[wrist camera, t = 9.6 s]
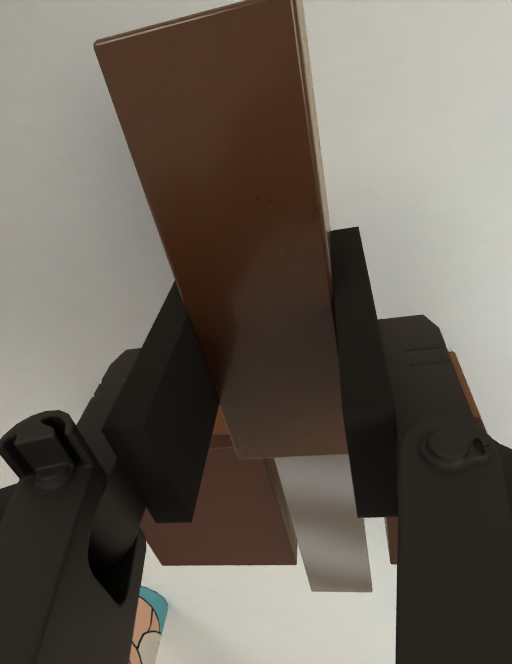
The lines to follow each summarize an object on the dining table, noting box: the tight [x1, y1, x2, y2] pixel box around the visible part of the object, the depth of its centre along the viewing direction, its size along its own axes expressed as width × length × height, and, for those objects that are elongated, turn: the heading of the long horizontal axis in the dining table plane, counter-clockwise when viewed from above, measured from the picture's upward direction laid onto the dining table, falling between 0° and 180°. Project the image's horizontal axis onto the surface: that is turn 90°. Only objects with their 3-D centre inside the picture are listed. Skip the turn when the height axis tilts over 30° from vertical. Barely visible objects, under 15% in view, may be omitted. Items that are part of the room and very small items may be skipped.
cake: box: [140, 406, 297, 566], centre depth 25 cm, size 10×8×5 cm
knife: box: [93, 0, 372, 592], centre depth 15 cm, size 24×3×4 cm, turn 12°
